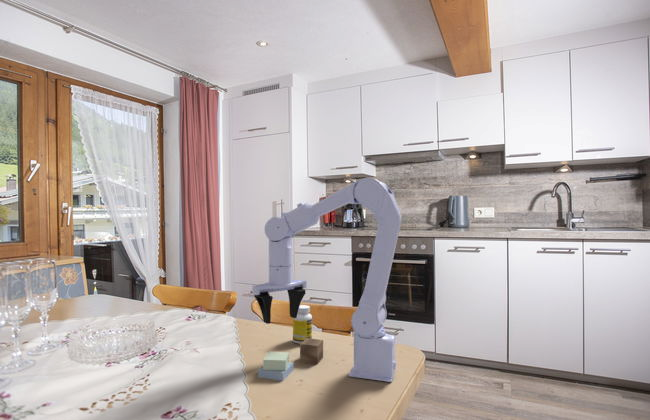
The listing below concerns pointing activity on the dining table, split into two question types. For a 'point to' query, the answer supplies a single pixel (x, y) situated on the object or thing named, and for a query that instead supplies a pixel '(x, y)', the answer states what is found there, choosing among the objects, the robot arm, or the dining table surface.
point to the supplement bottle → (302, 324)
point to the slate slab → (276, 373)
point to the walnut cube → (311, 351)
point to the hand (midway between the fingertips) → (280, 320)
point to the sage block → (276, 361)
